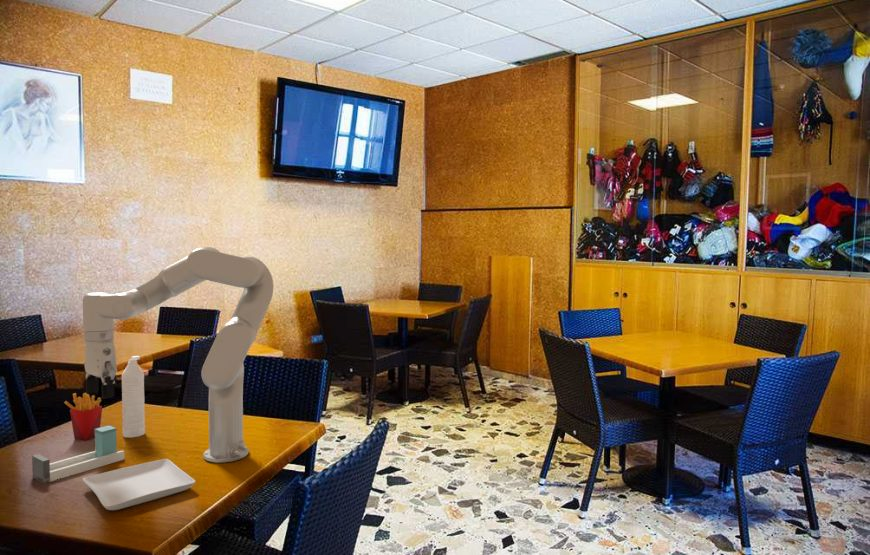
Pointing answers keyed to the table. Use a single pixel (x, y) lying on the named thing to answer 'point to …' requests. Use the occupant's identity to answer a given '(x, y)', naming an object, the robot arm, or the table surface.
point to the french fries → (85, 416)
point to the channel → (70, 465)
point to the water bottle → (133, 399)
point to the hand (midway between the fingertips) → (100, 395)
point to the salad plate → (138, 484)
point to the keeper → (105, 441)
